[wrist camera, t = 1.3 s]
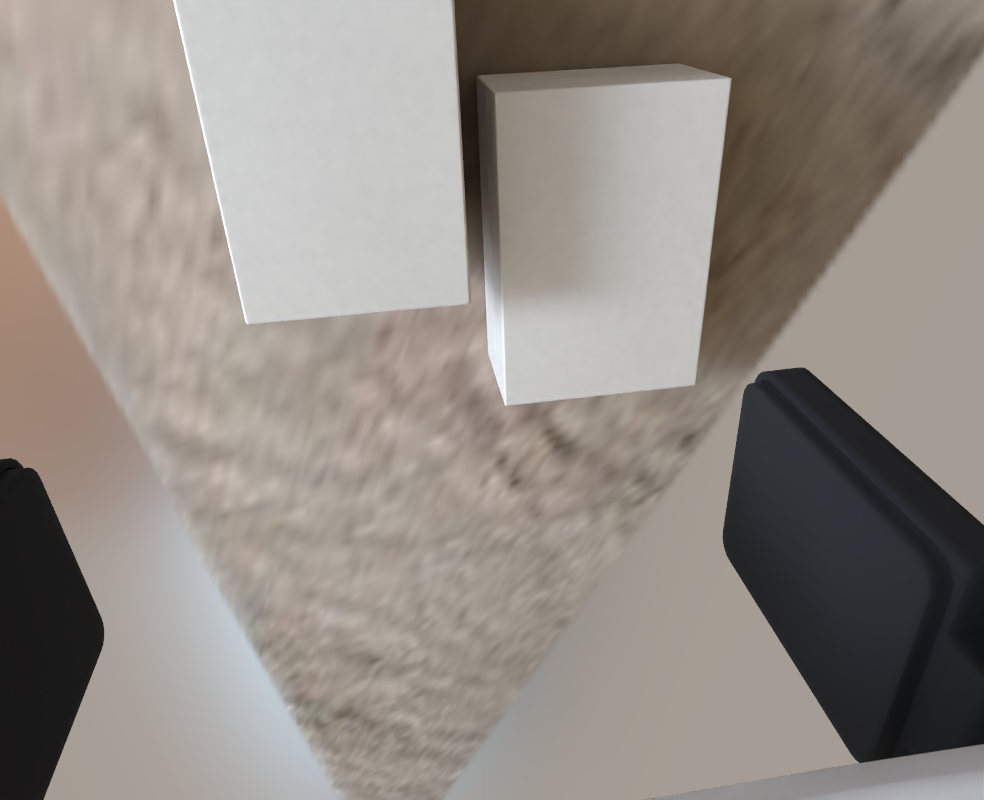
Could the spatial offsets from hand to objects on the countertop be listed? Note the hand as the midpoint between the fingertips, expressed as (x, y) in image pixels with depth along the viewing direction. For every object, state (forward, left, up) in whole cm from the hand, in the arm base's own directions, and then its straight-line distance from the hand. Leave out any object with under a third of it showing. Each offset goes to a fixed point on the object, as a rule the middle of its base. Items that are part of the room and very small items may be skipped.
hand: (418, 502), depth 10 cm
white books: (+2, +7, -20) cm, 21 cm away
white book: (-3, -1, -16) cm, 16 cm away
